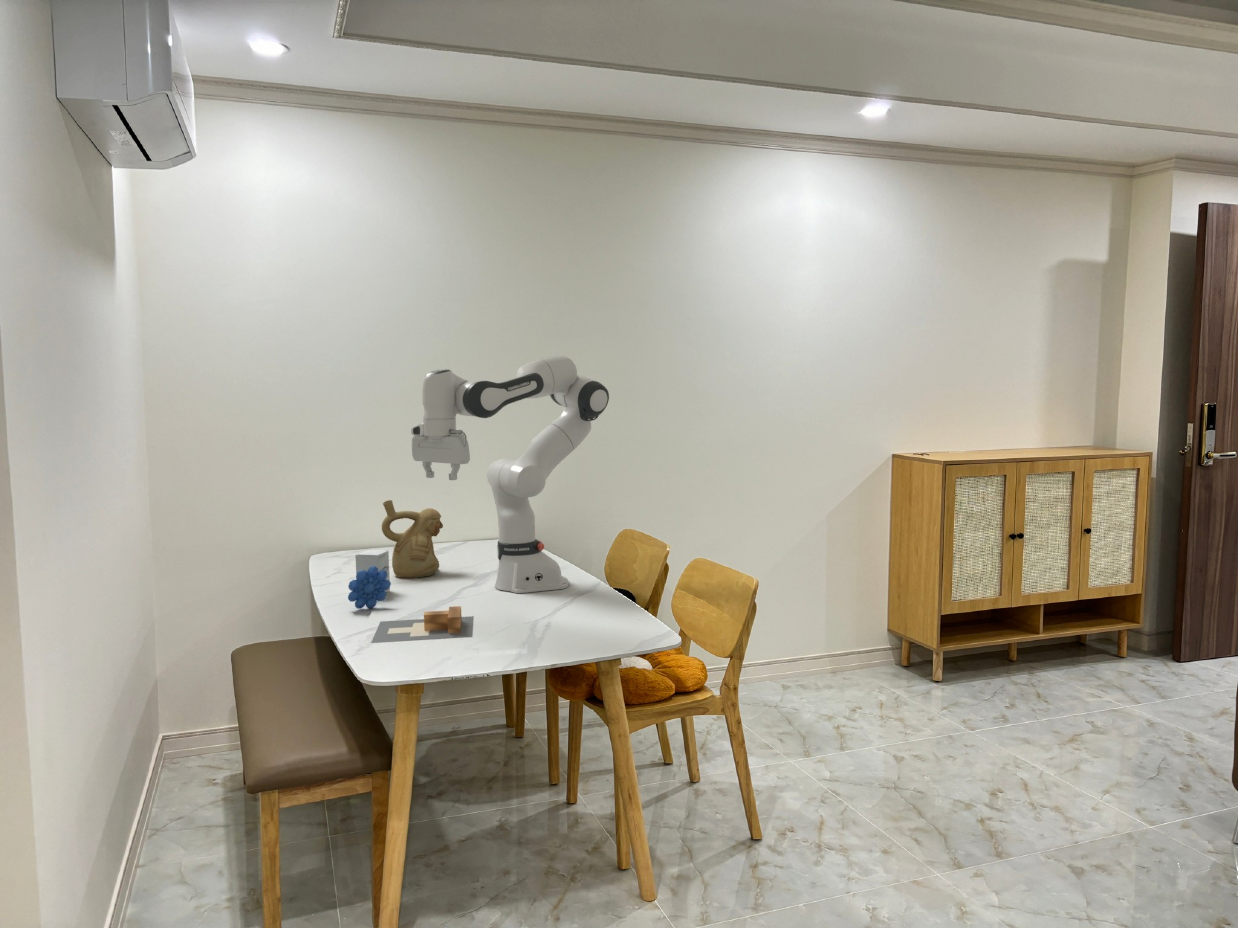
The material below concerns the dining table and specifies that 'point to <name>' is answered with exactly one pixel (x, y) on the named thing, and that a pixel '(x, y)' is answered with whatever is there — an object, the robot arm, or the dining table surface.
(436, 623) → the t block
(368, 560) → the supplement box
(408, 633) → the push board
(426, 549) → the ceramic vessel
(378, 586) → the blue lumpy cluster
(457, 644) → the dining table surface
